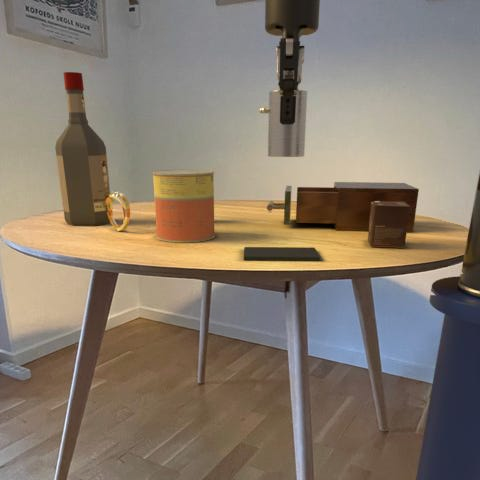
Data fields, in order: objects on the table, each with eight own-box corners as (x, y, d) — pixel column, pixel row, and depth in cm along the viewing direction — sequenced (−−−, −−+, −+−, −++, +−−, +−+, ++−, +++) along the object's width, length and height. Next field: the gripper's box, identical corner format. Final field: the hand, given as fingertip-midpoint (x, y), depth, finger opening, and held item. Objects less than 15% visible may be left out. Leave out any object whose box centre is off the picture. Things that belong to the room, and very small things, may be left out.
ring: (135, 232, 94) (132, 191, 91) (120, 234, 92) (117, 192, 89) (118, 227, 99) (115, 188, 96) (104, 229, 97) (100, 189, 94)
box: (405, 248, 81) (410, 205, 79) (369, 247, 82) (373, 204, 80) (400, 241, 87) (405, 201, 84) (367, 240, 88) (371, 200, 85)
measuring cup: (257, 156, 70) (258, 90, 67) (260, 155, 75) (261, 93, 72) (304, 156, 69) (307, 89, 66) (304, 155, 74) (306, 93, 71)
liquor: (62, 225, 101) (41, 70, 90) (75, 218, 110) (58, 75, 99) (104, 225, 101) (88, 70, 90) (114, 219, 110) (101, 76, 99)
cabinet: (335, 230, 97) (339, 187, 94) (331, 219, 110) (334, 181, 107) (413, 232, 96) (419, 188, 93) (399, 221, 108) (404, 182, 105)
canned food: (226, 236, 91) (226, 171, 87) (183, 245, 83) (180, 175, 79) (188, 229, 98) (185, 169, 94) (144, 236, 90) (139, 171, 86)
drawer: (265, 223, 99) (266, 190, 97) (268, 215, 111) (269, 185, 108) (353, 226, 97) (356, 192, 95) (347, 216, 109) (350, 186, 106)
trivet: (314, 250, 80) (314, 247, 79) (320, 260, 73) (320, 257, 73) (244, 250, 80) (244, 246, 80) (243, 260, 73) (243, 256, 73)
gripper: (322, -26, 57) (314, 123, 63) (318, 5, 71) (311, 126, 77) (261, -24, 58) (259, 123, 64) (268, 6, 71) (266, 126, 78)
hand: (287, 124), depth 70 cm, fingers closed on measuring cup, 5 cm apart
